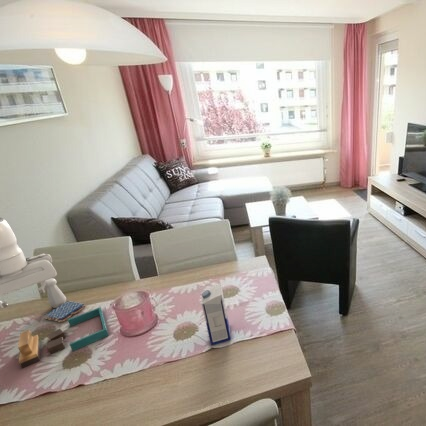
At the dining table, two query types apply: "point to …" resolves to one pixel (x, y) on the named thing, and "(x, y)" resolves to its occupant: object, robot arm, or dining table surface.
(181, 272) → the dining table surface
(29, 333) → the brush
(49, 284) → the salt shaker
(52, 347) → the chip
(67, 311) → the woven mat
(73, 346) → the corral
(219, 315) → the milk carton
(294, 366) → the dining table surface
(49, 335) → the chip
